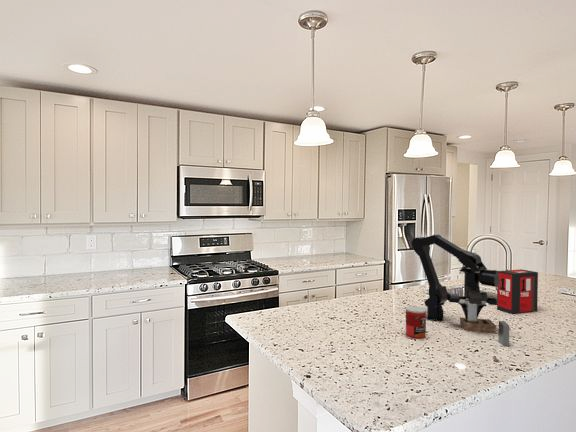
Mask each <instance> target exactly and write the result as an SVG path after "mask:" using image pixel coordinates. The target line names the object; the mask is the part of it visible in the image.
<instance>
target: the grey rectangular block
mask: <svg viewBox="0 0 576 432" xmlns="http://www.w3.org/2000/svg"><path fill="white" fill-rule="evenodd" d="M497 341H498V343H500V344H501V346H503V347H510V324H508V323H507V321H505V320H498V340H497Z"/></svg>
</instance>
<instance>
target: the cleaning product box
mask: <svg viewBox="0 0 576 432" xmlns="http://www.w3.org/2000/svg"><path fill="white" fill-rule="evenodd" d="M497 271H498V274H499V278H500V283H499V285H498V287H496V288H497V291H496V293H497V294H496V297H497V298H496V299H497V305H496V310H497V311H499V310H500V312H503V313H506V314H510V315H513V316H514V315H518V314H519V315H521V314H529V313H537V312H538V294H539V293H538V292H539V291H538V289H539V286H538V285H539V284H538V283H539V272H538V271H533V270H528V269H522V268H521V269H511V270H510V269H507V270H497Z"/></svg>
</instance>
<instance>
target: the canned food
mask: <svg viewBox="0 0 576 432" xmlns="http://www.w3.org/2000/svg"><path fill="white" fill-rule="evenodd" d="M426 315H427V309H425V308H424V307H420V306H412V305H411V306H410V305H409V306H406V307H405V335H406V336H407V337H409V338H411V339H416V340H419V339H420V340H421V339H422V340H423V339H425V337H426V333H427V332H426V330H427V316H426Z"/></svg>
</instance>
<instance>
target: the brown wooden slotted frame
mask: <svg viewBox="0 0 576 432" xmlns="http://www.w3.org/2000/svg"><path fill="white" fill-rule="evenodd" d="M459 325H460V326H461V328H462V329H463V330H464V331H466V332H468V331H469V332H478V333H479V332H481V333H491V334H493V333H494V334H496V333H497V325H496V324H495V323H494V321H492V319H490V318H488V319H487V318H477V323H469V322H466V318H465V317H460V319H459Z"/></svg>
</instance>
